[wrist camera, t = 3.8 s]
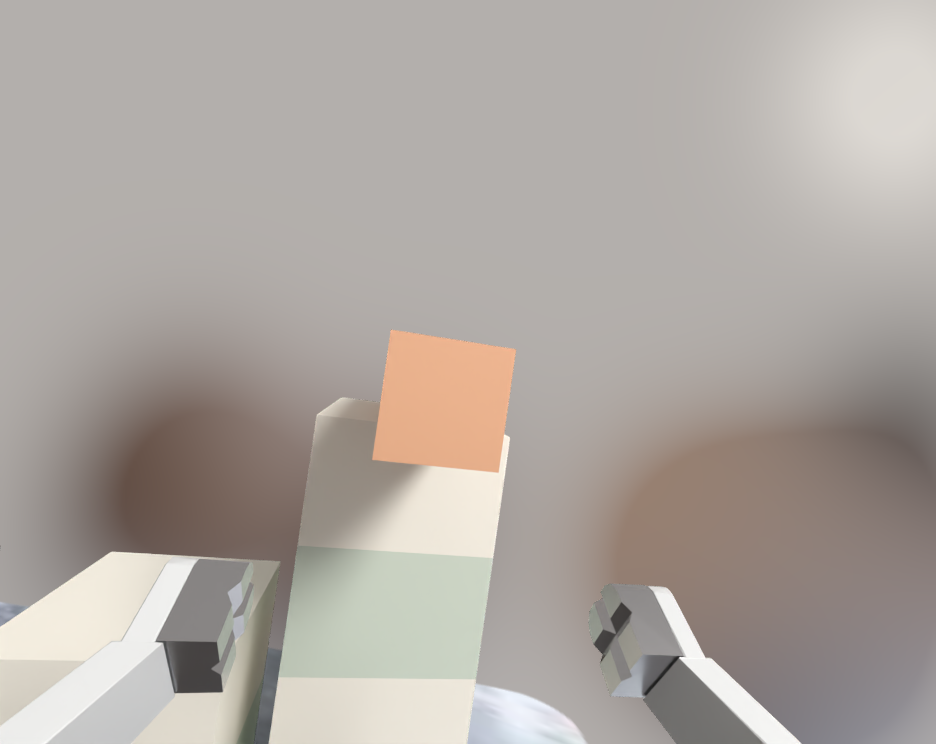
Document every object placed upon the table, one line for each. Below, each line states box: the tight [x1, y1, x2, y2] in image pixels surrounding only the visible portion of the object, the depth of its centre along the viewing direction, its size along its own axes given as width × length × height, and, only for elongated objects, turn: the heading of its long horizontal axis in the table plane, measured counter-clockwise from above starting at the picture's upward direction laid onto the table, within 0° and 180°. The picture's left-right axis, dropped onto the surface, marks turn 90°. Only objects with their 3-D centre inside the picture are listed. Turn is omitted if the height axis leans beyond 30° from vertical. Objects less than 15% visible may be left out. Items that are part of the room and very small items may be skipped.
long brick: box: [372, 330, 516, 473], centre depth 23 cm, size 20×4×4 cm, turn 11°
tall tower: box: [269, 397, 510, 744], centre depth 28 cm, size 12×10×26 cm
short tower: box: [0, 552, 280, 744], centre depth 23 cm, size 10×10×15 cm
